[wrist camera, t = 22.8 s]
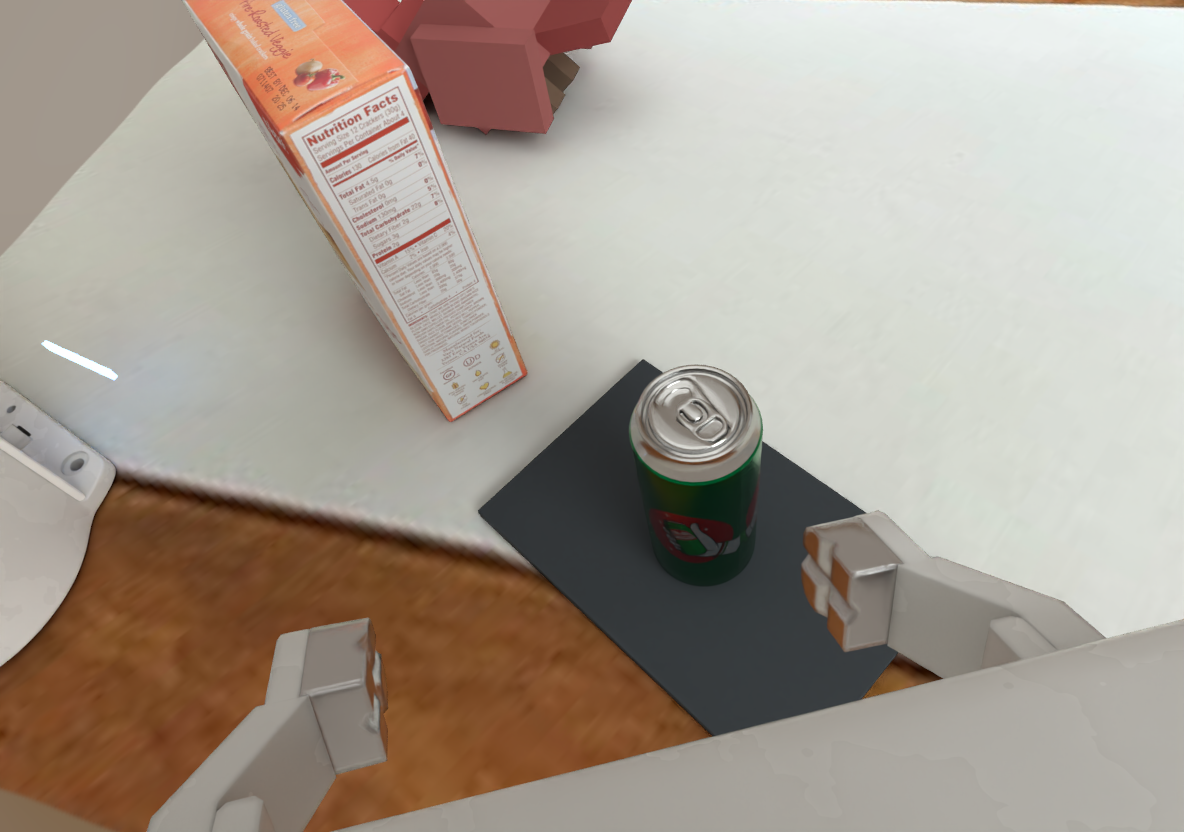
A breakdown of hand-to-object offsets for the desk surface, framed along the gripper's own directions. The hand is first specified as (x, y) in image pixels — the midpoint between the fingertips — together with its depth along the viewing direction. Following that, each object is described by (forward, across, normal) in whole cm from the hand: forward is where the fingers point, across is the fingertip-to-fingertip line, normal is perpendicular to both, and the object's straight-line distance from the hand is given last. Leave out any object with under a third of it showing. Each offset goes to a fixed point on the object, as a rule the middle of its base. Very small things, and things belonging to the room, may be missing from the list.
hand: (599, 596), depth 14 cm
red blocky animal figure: (+58, -3, -4) cm, 58 cm away
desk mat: (+19, -9, +15) cm, 26 cm away
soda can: (+19, -9, +14) cm, 25 cm away
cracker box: (+37, +2, +8) cm, 38 cm away
